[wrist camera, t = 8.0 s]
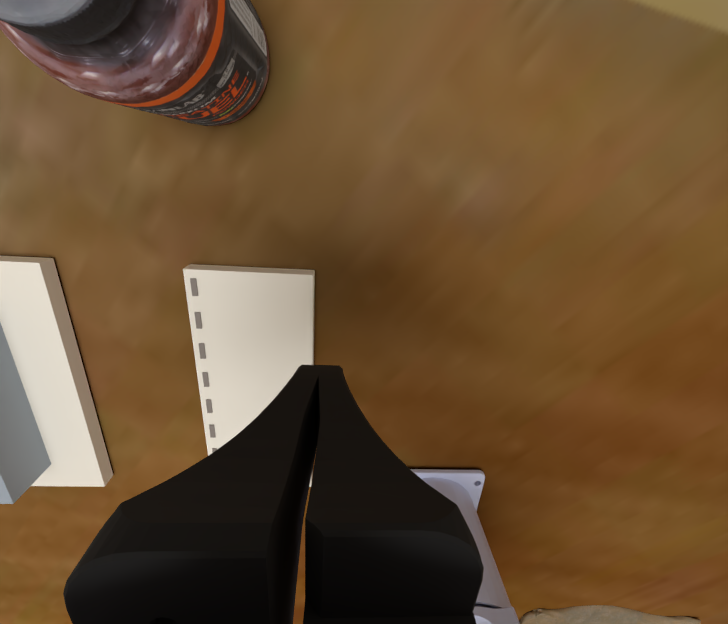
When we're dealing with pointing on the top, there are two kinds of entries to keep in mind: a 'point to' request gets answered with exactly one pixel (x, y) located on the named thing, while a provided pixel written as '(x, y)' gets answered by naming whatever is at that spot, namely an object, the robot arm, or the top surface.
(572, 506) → the top surface
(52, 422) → the stub
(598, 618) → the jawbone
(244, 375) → the ticket
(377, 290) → the top surface
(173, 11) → the supplement bottle
